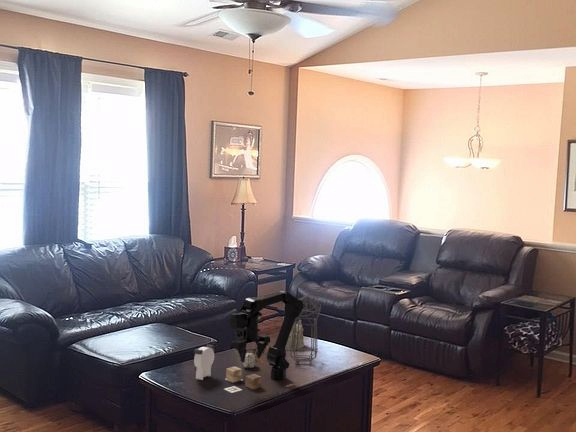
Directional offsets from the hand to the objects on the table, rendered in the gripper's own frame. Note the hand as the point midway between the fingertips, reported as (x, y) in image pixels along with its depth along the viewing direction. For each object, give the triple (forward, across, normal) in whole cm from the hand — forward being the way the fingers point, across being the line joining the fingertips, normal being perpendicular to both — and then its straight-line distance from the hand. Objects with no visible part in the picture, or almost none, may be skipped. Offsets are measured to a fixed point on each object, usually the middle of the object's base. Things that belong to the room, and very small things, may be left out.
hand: (250, 360), depth 277 cm
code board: (+12, +5, -4) cm, 14 cm away
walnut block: (+12, +1, +3) cm, 12 cm away
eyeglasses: (+13, -33, -28) cm, 46 cm away
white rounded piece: (+12, +10, -22) cm, 27 cm away
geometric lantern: (+12, -44, -9) cm, 46 cm away
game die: (+12, -16, -20) cm, 28 cm away
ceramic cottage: (+13, -60, -36) cm, 71 cm away
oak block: (+11, +1, -10) cm, 15 cm away
